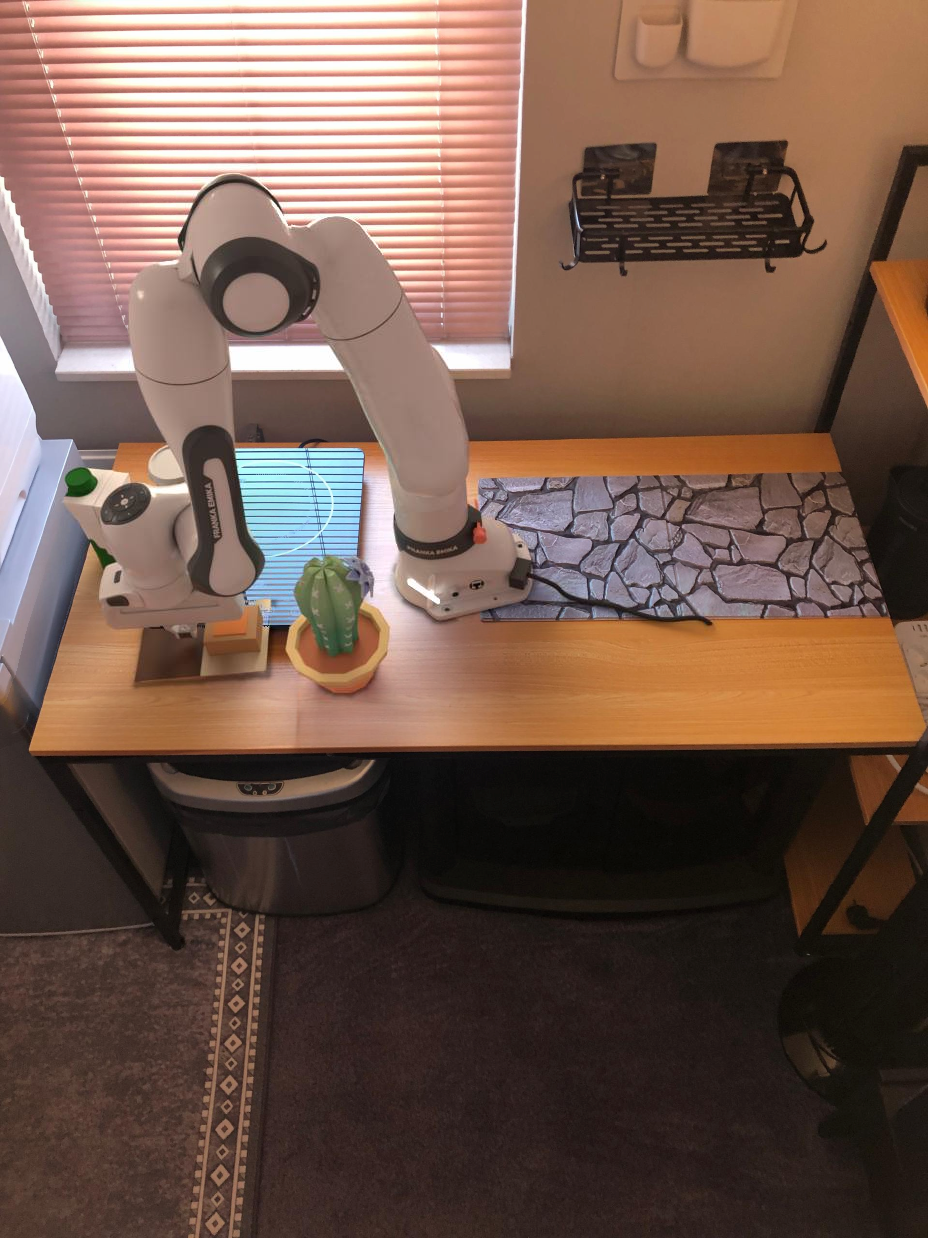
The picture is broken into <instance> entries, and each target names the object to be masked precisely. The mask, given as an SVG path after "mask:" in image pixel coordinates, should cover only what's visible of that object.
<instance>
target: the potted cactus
mask: <svg viewBox="0 0 928 1238" xmlns="http://www.w3.org/2000/svg"><path fill="white" fill-rule="evenodd" d="M344 563H345V564H347V565H348V566H347V565H345V564H344ZM302 572H303V573H302V575H301V576H300V578H299V579H298V580H297V581H296V583H295V586H294V589H293V596H294V599H295V601H296V604H297V607H298V609H299V611H300V615H299V616H298V617H297V618H296V619H295V621H294V622H293V623H291V625H290V626H289V627H288V628H289V629H288V634H287V639H286V645H285V651H286V654H287V656H288V658H289V660H290V661H291V663H292V666H293V668H294V669H295V671H296V672H297V673H298V675H300V676H302V677H304V678H306V679H307V680H309V681H312V682H313V683H315V684H317V685H319V686H322V687H323V688H325V689H327V690H329V691H331V692H332V693H334V694H352V693H354V692H357V691H359V690H361V689H362V688H364V687H366V686H367V685H368V683H369V682H370V681H371V679H372V678H373V677H374V676H375V671H376V669H378V667H379V666H380V665H381V663H382V662H383V661H384V660H385V658H386V657H387V656H388V652H389V651H388V650H389V639H390V630H391V627H390V625H389V623H388V622H387V620H386V618H385V617H384V616H383V614H382V612H381V610H380V609H379V608H378V607H376V606H374V605H371V604H369V603H368V602H365V601H364V599H365V598H366V596H367V595H368V594H369V593H370V598H371V599H372V598H374V585H375V577H374V574H373V572H372V570H371V569H370V567H369V565H368V564H367V563H366V562H365V561H364V560H363V559H362V558H359V557H358V556H354V555H350V557H349V556H341V557H338V556H335V555H331V554H325V555H324V556H323V557H322V561H321V560H320V558H318V557H315V556H314V557H313V558H311V559H310V560H308V561H307V562H306V563H305V564H304V566H303V571H302Z"/></svg>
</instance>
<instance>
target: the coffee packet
mask: <svg viewBox="0 0 928 1238" xmlns="http://www.w3.org/2000/svg"><path fill="white" fill-rule="evenodd" d="M262 628H263V616H262V613H261V610H260V607H259V605H248V606H245V608H244V615H243V616H242V617H241V619H240V620H235V621H222V622H210V623H205V631H204V639H203V643H204V645H205V648H206V650H207V652H208V654H209V655H220V654H233V653H246V652H259V651H261V640H262Z"/></svg>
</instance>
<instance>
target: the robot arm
mask: <svg viewBox="0 0 928 1238" xmlns="http://www.w3.org/2000/svg"><path fill="white" fill-rule="evenodd" d="M177 245H178V247H179V250H180V251H181V254H180V256H179V257H178V258H176V259H174V260H169V261H161V262H156V263H153V264H150V265H149V266H147V267H145V268H143V269H142V270H140V271H139V272H138V273H137V274H136V275H135V277H133V278H134V279H132V282H131V283H130V287H129V294H128V332H129V343H130V350H131V356H132V357H131V358H132V363H133V368H134V372H135V377H136V380H137V384H138V386H139V389H140V392H141V395H142V397H143V400H144V402H145V404H146V406H147V409H148V410H149V413H150V415H151V417H152V419H153V421H154V423H155V425H156V426H157V428H158V430H159V432H160V434H161V435H162V437H163V439H164V441H165V442H166V445H168V446H169V448H170V450H171V452H172V453H173V455H174V457H175V459H176V461H177V463H178V465H179V467H180V469H181V472H182V474H183V476H184V479H185V480H184V481H182V482H179V483H177V484H175V485H169V486H157V485H152V484H148V483H145V482H140V481H133V482H131V483H128V484H125V485H122V486H120V487H118V488H116V489H115V490H114V491H112V492H111V493H110V494H109V495H108V496H107V498H106V499H105V501H104V503H103V505H102V507H101V511H100V523H101V528H102V532H103V535H104V537H105V540H106V542H107V545H108V547H109V549H110V551H111V553H112V555H113V557H114V559H115V560H116V561H117V562H116V563H113V564H110V565H108V566H106V567H105V570H103V573H102V576H101V579H100V583H99V590H98V602H99V604H100V605H101V606H100V610H101V613H102V614H101V615H102V617H103V619H104V621H105V623H106V625H107V626H108V627H109V628H111V629H113V630H116V631H123V630H135V629H144V628H148V627H160V626H163V627H164V629H166V630H168V631H170V632H172V633H174V634H175V635H176V637H177V639H182V638H196V637H197V624H198V623H210V622H222V621H235V620H240V619H241V617H242V616H243V615H244V608H245V597H244V594H243V593H245V592H247V591H248V590H250V589H251V588H252V587H253V585H254V584H255V583H256V582H257V580H258V579H259V578H260V576H261V574H262V573H263V571H264V569H265V565H266V557H265V554H264V551H262V549H261V547H260V545H259V544H258V542H257V541H256V539H255V537H254V535H253V533H252V530H251V529H250V527H249V525H248V523H247V519H246V512H245V507H244V501H243V493H242V488H241V482H240V475H239V470H238V462H237V453H236V436H235V422H234V403H233V402H234V401H233V381H232V380H233V379H232V365H231V363H232V362H231V355H230V346H229V345H230V344H229V337H228V332H230V333H232V334H233V335H236V336H239V337H243V338H244V337H245V338H254V339H255V338H256V339H257V338H263V337H269V336H271V335H274V334H277V333H280V332H282V331H284V330H286V329H288V328H289V327H291V326H292V325H293V324H296V323H300V322H303V321H305V320H307V319H308V318H309V317H310V316H311V318H312V319H313V321H314V323H315V324H316V327H317V328H318V329H319V331H320V333H321V335H322V336H323V338H324V339H325V341H326V342H327V344H328V346H329V348H330V349H331V352H332V353H333V354H334V356H335V357H336V359H337V361H338V362H339V364H340V366H341V367H342V369H343V371H344V373H345V374H346V376H347V378H348V381H350V384H351V385H352V388H353V390H354V392H355V395H356V397H357V399H358V402H359V403H360V406H361V408H362V410H363V413H364V415H365V417H366V419H367V421H368V424H369V426H370V428H371V430H372V431H373V434H374V436H375V438H376V440H377V442H378V444H379V446H380V448H381V450H382V452H383V453H384V456H385V461H386V466H387V472H388V473H387V475H388V479H389V486H390V492H391V500H392V505H393V519H392V528H393V535H394V541H395V544H396V547H397V550H398V551H397V552H398V554H397V562H396V566H395V570H394V583H395V586H396V588H397V590H398V592H399V594H400V595H401V596H402V597H403V598H404V599H405V600H406V601H408V602H409V603H410V604H413V605H414V606H417V607H419V608H421V609H423V610H425V611H426V612H427V613H428V615H430V616H431V617H432V618H433V619H435V621H445V620H450V619H454V618H458V617H462V616H466V615H471V614H475V613H479V612H483V611H488V610H491V609H495V608H496V609H497V608H500V607H503V606H508V605H512V604H516V603H520V602H521V603H522V602H524V601H525V600H527V598H528V596H529V595H530V593H531V590H532V587H533V581H537V582H540V583H542V584H545V585H548V586H550V587H552V588H553V589H555V590H556V591H557V592H558V593H559V594H560V595H561V596H562V597H563V598H565V599H568V600H570V601H573V602H576V603H581V604H584V605H590V606H597V607H602V608H603V607H604V608H609V609H613V610H617V611H621V612H624V613H627V614H630V615H633V616H636V617H638V618H642V619H646V620H648V621H654V622H659V623H680V622H688V621H698V622H701V623H703V624H705V625H706V626H713V622H712V621H711V620H710V619H709V618H707V617H705V616H701V615H696V614H691V615H680V616H679V615H678V616H658V615H652V614H649V613H645V612H642V611H639V610H636V609H633V608H630V607H627V606H624V605H620V604H618V603H617V604H616V603H614V602H613V603H612V602H609V601H602V600H596V599H589V598H588V599H587V598H583V597H579V596H576V595H573V594H571V593H568V592H567V591H565V590H564V589H563V588H562V587H561V586H560V585H559V584H558V583H556V582H554V581H553V580H550V579H548V578H545V577H543V576H540V575H537V574H536V573H535V574H534V570H533V569H534V567H533V560H532V558H531V553H530V550H529V547H528V546H527V544H526V542H525V540H524V539H523V538H521V536H520V535H518V534H517V533H514V532H513V533H512V531H511V529H510V528H509V526H508V525H507V524H505V523H504V522H502V521H500V520H498V519H497V520H496V519H494V518H492V517H491V518H490V517H487V516H484V515H482V512H481V511H480V509H479V508H480V507H479V503H478V500H477V498H474V506H473V505H471V504H470V503H469V502H468V491H467V489H468V488H467V478H468V475H469V471H470V439H469V435H468V430H467V427H466V423H465V419H464V415H463V412H462V406H461V404H460V400H459V396H458V392H457V389H456V385H455V381H454V377H453V375H452V372H451V370H450V368H449V366H448V365H447V363H446V362H445V359H443V357H442V355H441V354H440V352H439V351H438V350H437V349H436V348H435V347H434V346H432V345H431V344H430V343H429V340H428V337H427V335H426V333H425V330H424V329H423V327H422V324H421V322H420V321H419V319H418V317H417V315H416V312H415V310H414V308H413V306H412V305H411V303H410V301H409V298H408V297H407V294H406V293H405V291H404V289H403V286H402V285H401V283H400V281H399V279H398V277H397V275H396V273H395V272H394V269H393V268H392V267H391V264H390V263H389V261H388V259H387V258H386V257H385V255H384V253H383V251H382V250H381V249H380V248H379V246H378V244H376V242H375V241H374V239H373V238H372V237H371V236H370V234H369V233H368V232H367V231H366V229H364V227H363V226H362V225H361V224H360V223H359V222H358V221H356V220H355V219H354V218H351V217H348V216H344V215H339V214H334V215H333V214H331V215H325V216H323V217H320V218H318V219H315V220H313V221H312V222H310V223H309V224H307V225H302V226H301V225H300V226H299V225H293V224H291V225H290V226H289V225H288V223H287V221H286V219H285V215H284V212H283V208H282V207H281V204H280V203H279V201H278V200H277V198H276V197H275V195H273V192H271V191H270V190H269V189H268V188H267V187H266V186H265V185H264V184H263V183H261V182H260V181H259V180H257V179H255V178H253V177H251V176H249V175H246V174H244V173H243V174H242V173H238V172H229V173H223V174H218V175H217V176H214V177H213V178H211V179H210V180H208V181H207V182H205V184H203V186H202V187H201V188H200V190H199V191H198V193H197V194H196V196H195V197H194V200H193V202H192V205H191V207H190V209H189V212H188V215H187V217H186V220H185V222H184V224H183V226H182V228H181V229H180V232H179V234H178V236H177Z"/></svg>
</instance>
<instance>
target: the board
mask: <svg viewBox="0 0 928 1238" xmlns="http://www.w3.org/2000/svg"><path fill="white" fill-rule="evenodd" d="M248 600H249V602H248V603H250V600H251V599H248ZM253 600H254V601H253V602H257V603H256V605H260V606H259V607H260V610H261V605H262V607H263V609H262V610H266V609H267V610H269V611H268V612H270V613H269V615H270V616H271V605H272V598H270V597H269V598H259V600H258V599H253ZM255 600H256V601H255ZM251 602H252V601H251ZM246 603H247V602H246ZM258 603H259V604H258ZM251 605H252V604H251ZM254 605H255V603H254ZM264 607H266V608H265V609H264ZM267 607H268V608H267ZM263 613H264V611H263ZM263 617H264V615H263ZM265 617H266V616H265ZM142 629H143V630H142V636H141V640H140V641H141V642H140V646H139V647H140V648H139V654H138V659H137V665H136V671H135V677H134V682H144V681H157V680H159V681H160V680H168V679H169V680H170V679H182V678H195V677H207V676H221V675H231V674H232V675H233V674H243V673H257V672H266V671H267V663H268V662H267V661H268V649H269V648H268V647H269V635H270V625H269V626H268V627H267V626H265V627H264V626H263V628H262V640H261V651H259V652H246V653H233V654H220V655H209V654H208V652H207V650H206V648H205V645H204V643H203V639H204V631H205V628H204V627H203V628H202V626H201V627H200V626H199V627H197V637H196V638H182V639H177V637H176V635H175V634H174V633H172V632H170V631H168V630H166V629H165V630H164V629H151V628H149V627H148V628H142Z"/></svg>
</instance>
